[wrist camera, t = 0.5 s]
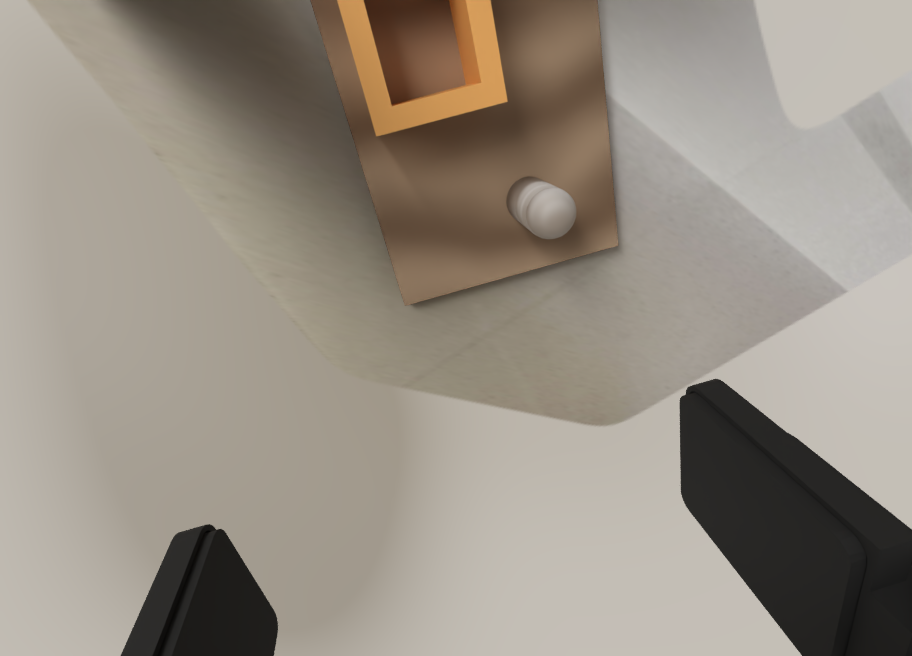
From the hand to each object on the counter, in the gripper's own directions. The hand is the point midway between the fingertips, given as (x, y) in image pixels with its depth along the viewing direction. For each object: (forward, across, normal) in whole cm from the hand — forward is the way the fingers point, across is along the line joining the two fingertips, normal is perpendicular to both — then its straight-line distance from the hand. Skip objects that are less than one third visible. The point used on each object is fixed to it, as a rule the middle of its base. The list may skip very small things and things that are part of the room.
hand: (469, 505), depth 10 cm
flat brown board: (+27, -7, -5) cm, 28 cm away
